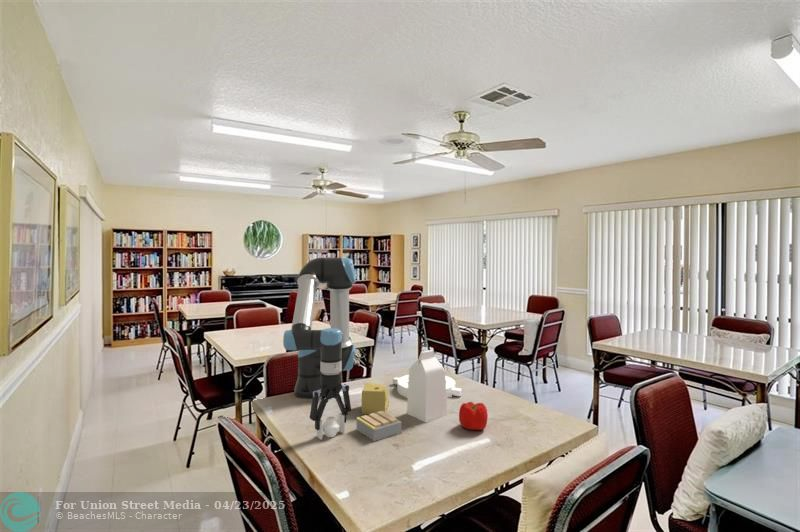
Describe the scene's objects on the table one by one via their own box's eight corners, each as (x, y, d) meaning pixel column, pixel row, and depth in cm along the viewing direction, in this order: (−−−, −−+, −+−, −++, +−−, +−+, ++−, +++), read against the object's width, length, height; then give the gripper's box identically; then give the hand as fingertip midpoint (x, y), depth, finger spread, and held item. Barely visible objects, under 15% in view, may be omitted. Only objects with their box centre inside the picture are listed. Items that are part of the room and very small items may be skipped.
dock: (356, 429, 149) (356, 416, 149) (383, 421, 156) (383, 409, 156) (373, 441, 139) (373, 427, 139) (401, 432, 147) (401, 419, 146)
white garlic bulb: (321, 433, 146) (321, 414, 146) (337, 430, 148) (337, 412, 148) (323, 440, 140) (324, 420, 140) (341, 438, 142) (341, 418, 142)
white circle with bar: (464, 398, 184) (464, 388, 184) (406, 403, 177) (406, 393, 177) (442, 380, 211) (442, 371, 211) (391, 384, 204) (391, 375, 204)
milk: (425, 422, 156) (426, 356, 155) (406, 413, 165) (407, 350, 164) (447, 414, 164) (447, 351, 163) (427, 406, 173) (428, 346, 172)
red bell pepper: (488, 422, 156) (488, 399, 156) (486, 435, 145) (486, 411, 144) (460, 419, 159) (461, 397, 159) (456, 432, 147) (457, 407, 147)
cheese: (388, 406, 173) (389, 383, 173) (385, 415, 162) (385, 391, 162) (365, 405, 174) (365, 382, 174) (360, 414, 163) (360, 390, 163)
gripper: (308, 380, 134) (307, 447, 135) (361, 369, 147) (361, 431, 147) (299, 374, 140) (299, 438, 141) (351, 365, 153) (351, 424, 153)
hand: (330, 434), depth 144 cm, fingers open, 8 cm apart
